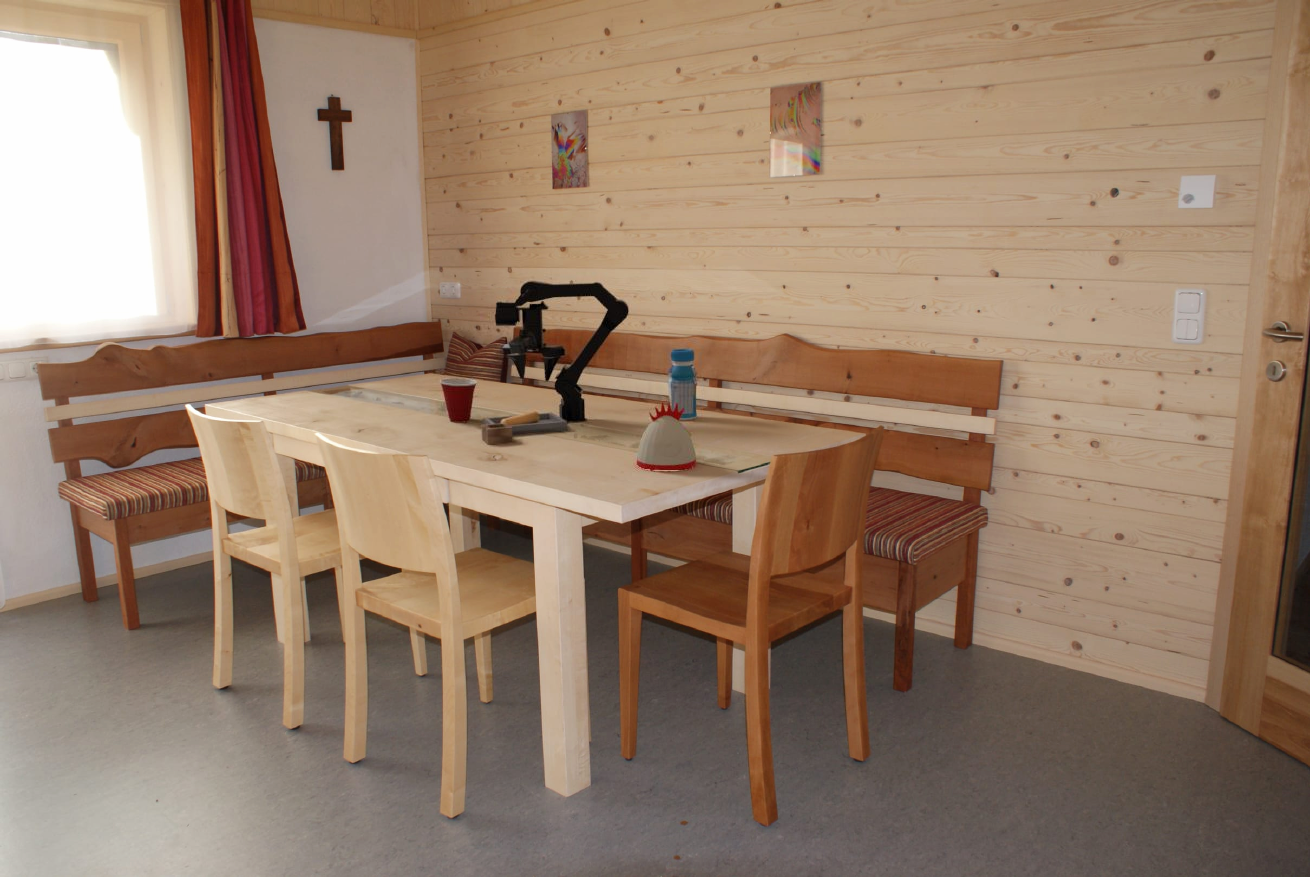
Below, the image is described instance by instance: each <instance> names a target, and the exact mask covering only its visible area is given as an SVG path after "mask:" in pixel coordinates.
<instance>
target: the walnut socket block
mask: <svg viewBox="0 0 1310 877" xmlns="http://www.w3.org/2000/svg"><path fill="white" fill-rule="evenodd" d="M513 437H514V435H512V427H511V426H510V425H508V424H507V423H499V424H487V425H484V424H481V441H483V442H484V441H485V442H486V443H485V442H484V443H485V444H487V445H488V444H489V445H496V444H495V443H500V444H508V443H507V442H511V443H514V442H513V441H514V439H513Z"/></svg>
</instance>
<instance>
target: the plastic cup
mask: <svg viewBox="0 0 1310 877" xmlns="http://www.w3.org/2000/svg"><path fill="white" fill-rule="evenodd" d="M439 383H440V385H441V388H442V392H443V397H444V402H445V407H446V410H447V414H448V418H449V422H453V423H463V422H464V421H465V422H469V421H471V420H470V419H471V414H472V408H473V403H474V402H473V400H474V393H475V389H476V386H477V384H478V381H477V380H475V379H471V378H465V377H464V378H463V377H451V378H450V377H449V378H448V377H447V378H441V379H439Z"/></svg>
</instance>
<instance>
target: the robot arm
mask: <svg viewBox="0 0 1310 877" xmlns="http://www.w3.org/2000/svg"><path fill="white" fill-rule="evenodd" d="M519 291H520V294H519V296H518V297H517V299H515V302H513V301H512V302H510V301H508V302H503V301H497V302H496V303H495V306H496V307H495V314H494V321H495V326H496V327H514V326H515V327H516V326H518V323H520V322H521V320H522V329H519V333H518V336H516V337H515V338H513V339H511V340H510V341H509V342H508V343H505V344H504V345H503V347H502V354H503V355H505V356H506V358H509V359H510V360H512V363H514V366H515V369H516V370H517V374H518V376H519V379H521V380H524V379H525V375H526V374H525V373H526V363H527V354H539V355H542V357H541V359H540V360H541V361H542V362H543V367H544V369H543V370H544V380H545V382H548V381H550V379H551V377H552V374H553V371H554V369H555V367H556V365H557V363H558V361H560V360H561V359H562V357H563V356H565V355H566V349H565V348H564V346H563V345H554V344H552V345H548V346H547V342H544V333H546V331H547V330H546V328H544V326H543V311H547V310H548V309H549V306H548V305H547V304H546V303H545V301H544V300H548V299H553V298H573V297H574V298H578V297H579V298H580V297H581V298H582V297H584V298H585V297H594V298H595V299H596V300H597V301H598V302H599V303H600V304H601V305H602V307H604V308H605V309H606V313H604V314H605V315H604V316H603V318H602V321H601V323H600V324H599V326H598V328H596V330H595V332H594V333H593V334H592V336H591V337H590V338H589V339H588V341H587V343H586V344H585V346H583V348H582V350H580V352H579V354H578V355H577V357H576V358H575V359H574V361H573V362H572V363H571V364H569V366H567V364H563V366H562V368H561V370H560V372H558V373H557V374H556V375H555V377H554V379H555V381H554V389H555V391H556V393H557V394H558V395H560V396H561V398H560V403H559V406H558V408H559V410H558V411H559V412H558V414H559V417H560V418H562V419H564V420H565V421H567V423H573V422H586V421H587V420H588V419H587V418H586V410H585V408H586V405H585V398H583V397H582V395H583V393H584V389H583V388H582V387H581V386H580V385H578V382H579V381H580V378H581V375H582V374H583V371H584V370H585V369H586V368H587V366H588V365H589V363H590V361H592V359H593V357H594V356H595V355H596V353H597V352H598V351H599V350H600V347H601V346H602V345H603V344H604V342H605V341H606V340H607V338H608V336H610V334H611V332H612V331H614V330H615V329H616V328H617V327H618V326H620V324H622V322H624V320H626V319H627V317H628V316H629V310H630V309H629V305H628V303H627V302H626V301H625V300H623V299H618V298H617V297H615V296H614V294H612V293H611V292H610V291H609V290H608V289H607V288H606V287H604V285H603V284H602V283H601V282H597V281H596V282H595V281H594V282H587V283H586V282H585V283H582V282H581V283H550V282H549V283H548V282H542V281H536V280H528V281H527V282H525V283H522V286H521V287H520V290H519ZM539 301H541V302H540V303H534V302H539ZM527 303H529V306H527V307H525V306H524V305H525V304H527ZM522 306H524V307H522ZM521 317H522V318H521Z"/></svg>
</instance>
